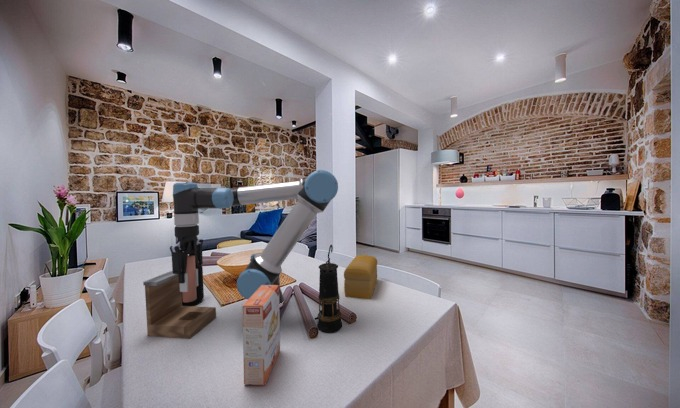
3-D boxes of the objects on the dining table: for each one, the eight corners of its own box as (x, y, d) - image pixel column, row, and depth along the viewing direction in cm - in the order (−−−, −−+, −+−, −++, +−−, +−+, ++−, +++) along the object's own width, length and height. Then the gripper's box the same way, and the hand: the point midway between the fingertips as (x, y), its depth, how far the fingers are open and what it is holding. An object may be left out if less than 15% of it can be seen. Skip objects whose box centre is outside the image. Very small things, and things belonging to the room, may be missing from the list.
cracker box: (266, 386, 60) (264, 305, 59) (243, 386, 61) (240, 305, 60) (281, 350, 74) (280, 283, 73) (262, 350, 75) (260, 284, 74)
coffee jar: (170, 305, 105) (168, 265, 105) (193, 296, 115) (191, 259, 115) (187, 310, 101) (185, 268, 101) (209, 299, 111) (207, 261, 111)
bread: (371, 300, 108) (370, 267, 108) (343, 297, 112) (343, 265, 111) (377, 280, 132) (377, 253, 131) (354, 278, 135) (354, 252, 135)
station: (216, 316, 96) (214, 269, 95) (188, 339, 81) (186, 283, 80) (180, 314, 97) (178, 268, 97) (146, 336, 83) (143, 281, 82)
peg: (199, 297, 90) (197, 255, 89) (190, 302, 86) (189, 258, 85) (188, 296, 91) (186, 255, 90) (179, 302, 86) (177, 258, 86)
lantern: (312, 330, 85) (311, 246, 84) (324, 317, 93) (322, 241, 92) (336, 335, 82) (335, 248, 80) (345, 322, 90) (344, 242, 89)
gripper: (194, 222, 96) (196, 279, 97) (156, 228, 79) (159, 298, 80) (212, 222, 95) (214, 280, 96) (177, 228, 78) (180, 299, 79)
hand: (189, 288), depth 88 cm, fingers closed on peg, 4 cm apart
